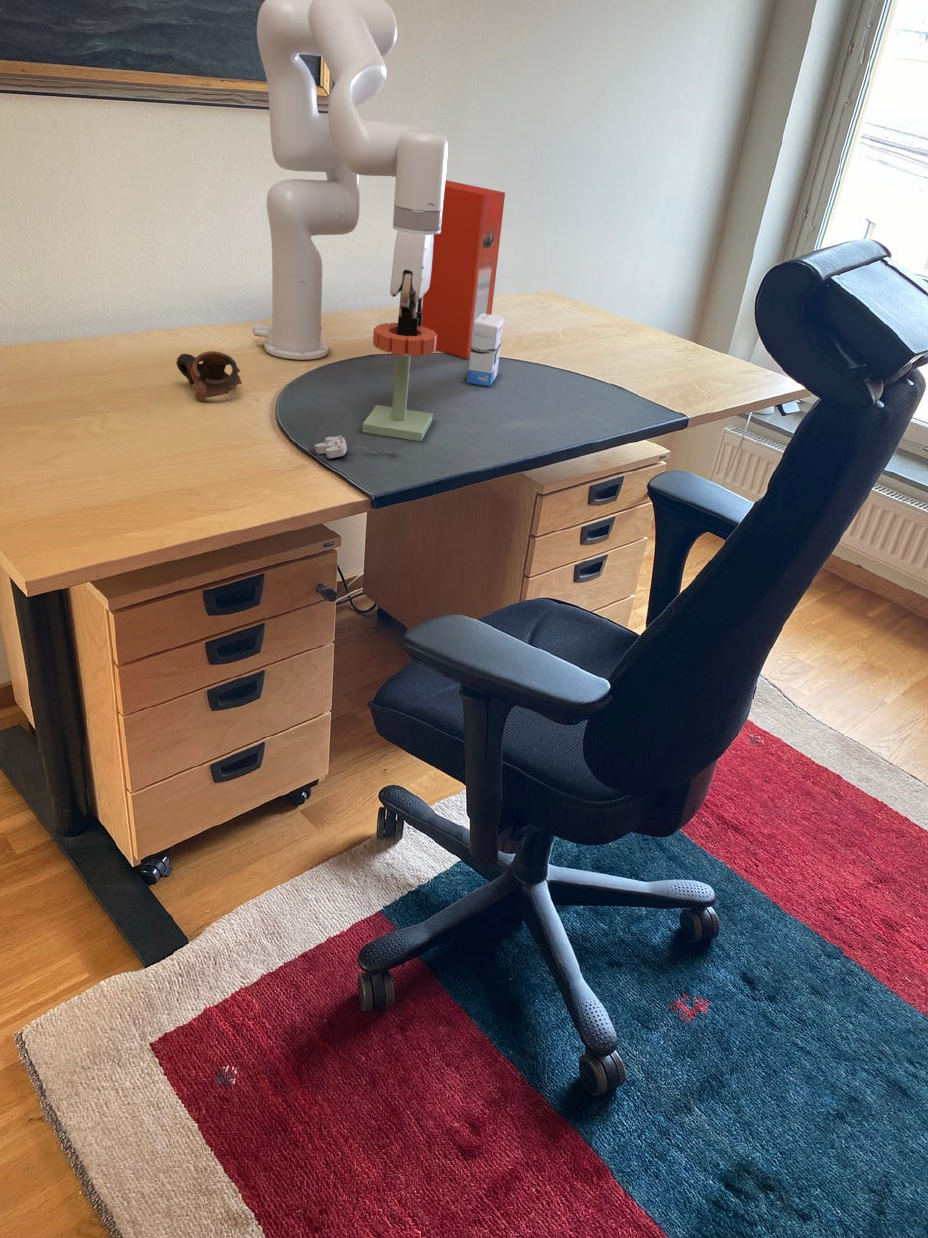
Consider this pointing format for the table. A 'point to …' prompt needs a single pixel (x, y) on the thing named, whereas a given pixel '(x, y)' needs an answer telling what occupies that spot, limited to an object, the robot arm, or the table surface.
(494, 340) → the ink box
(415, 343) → the ring
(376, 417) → the post
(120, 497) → the table surface
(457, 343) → the file binder
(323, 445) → the white power plug
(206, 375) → the pottery mug
